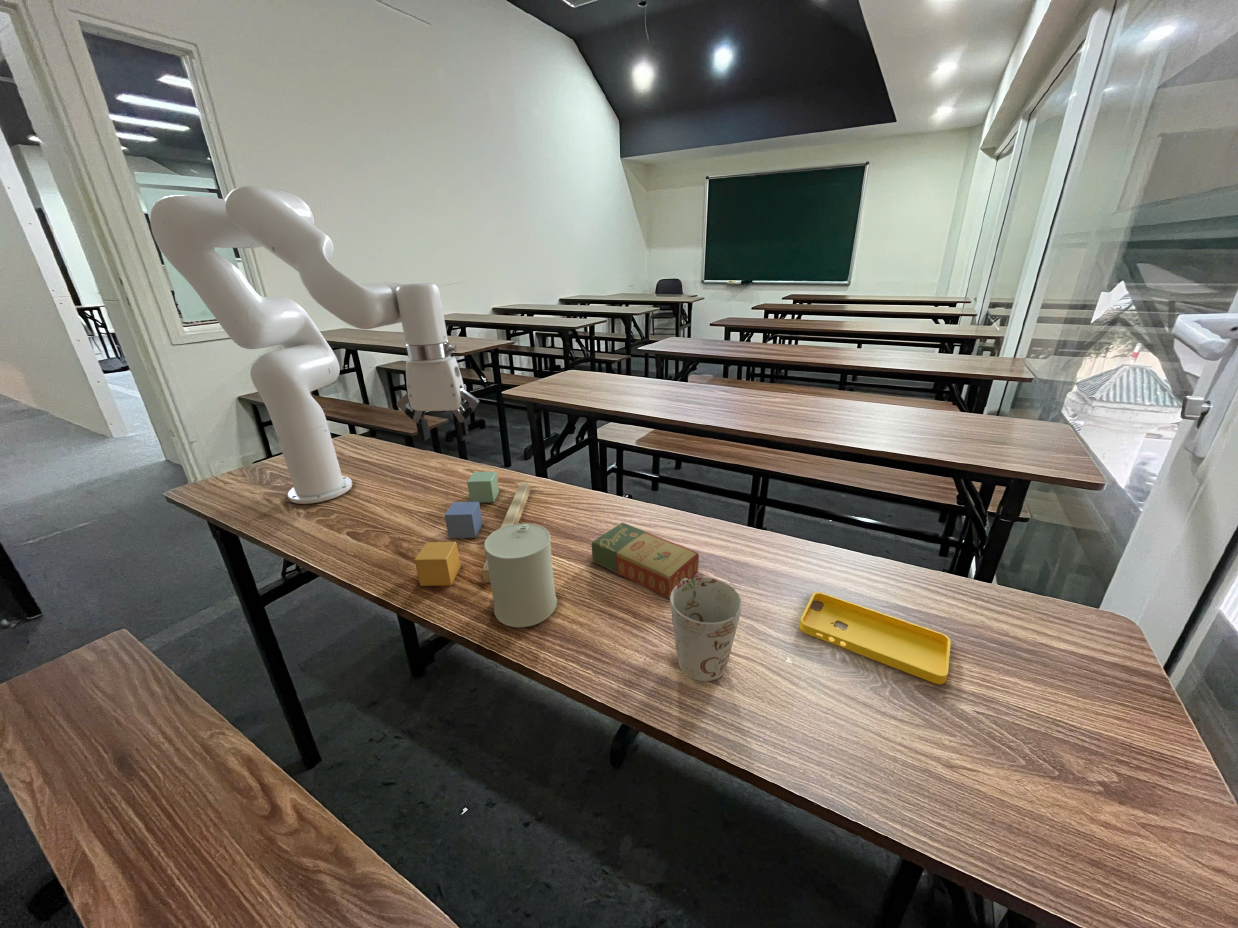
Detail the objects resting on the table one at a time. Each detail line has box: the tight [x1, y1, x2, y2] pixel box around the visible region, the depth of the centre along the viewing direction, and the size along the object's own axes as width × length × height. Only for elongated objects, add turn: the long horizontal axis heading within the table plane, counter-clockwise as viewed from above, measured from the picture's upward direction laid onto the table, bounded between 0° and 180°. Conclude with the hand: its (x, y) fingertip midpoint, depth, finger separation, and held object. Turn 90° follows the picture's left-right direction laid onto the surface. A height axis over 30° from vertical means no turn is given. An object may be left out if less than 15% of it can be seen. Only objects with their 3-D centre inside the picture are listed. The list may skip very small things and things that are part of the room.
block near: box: [413, 541, 462, 587], centre depth 77 cm, size 5×5×5 cm
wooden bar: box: [481, 482, 531, 584], centre depth 91 cm, size 32×2×2 cm, turn 0°
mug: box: [669, 577, 743, 682], centre depth 60 cm, size 8×13×10 cm, turn 16°
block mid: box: [444, 501, 484, 539], centre depth 90 cm, size 5×5×5 cm
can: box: [483, 522, 558, 628], centre depth 69 cm, size 9×9×12 cm
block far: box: [466, 471, 500, 504], centre depth 103 cm, size 5×5×5 cm
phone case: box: [798, 591, 952, 685], centre depth 63 cm, size 8×17×1 cm, turn 55°
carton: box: [591, 522, 700, 599], centre depth 78 cm, size 8×16×4 cm, turn 49°
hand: (444, 438), depth 98 cm, fingers open, 7 cm apart
